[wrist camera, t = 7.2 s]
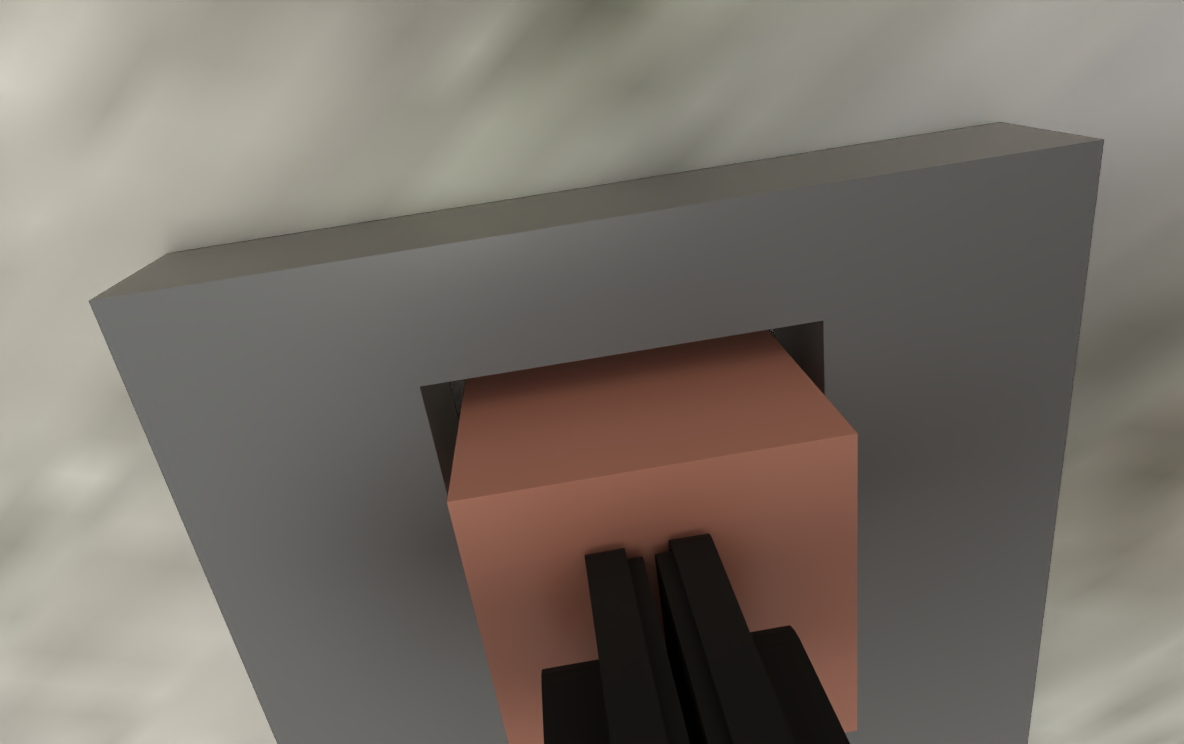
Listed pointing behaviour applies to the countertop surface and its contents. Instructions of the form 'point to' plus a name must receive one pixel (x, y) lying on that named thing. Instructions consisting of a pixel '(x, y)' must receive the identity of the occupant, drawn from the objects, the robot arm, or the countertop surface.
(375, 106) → the countertop surface
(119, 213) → the countertop surface
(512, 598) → the brick key
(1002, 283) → the slotted grey plate
